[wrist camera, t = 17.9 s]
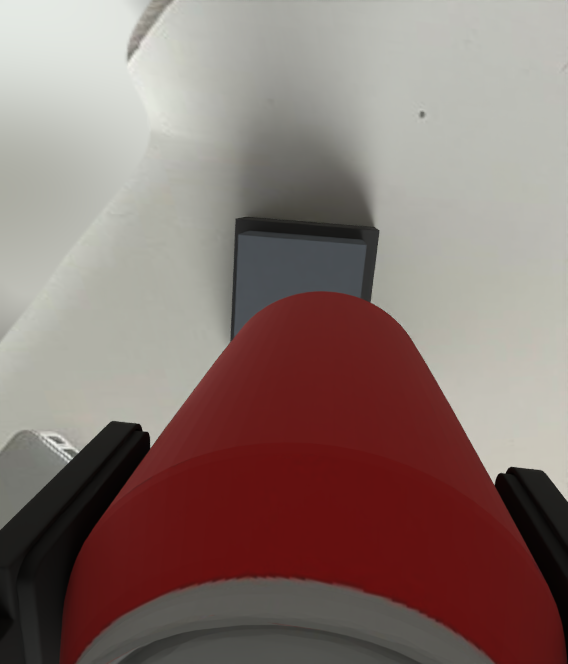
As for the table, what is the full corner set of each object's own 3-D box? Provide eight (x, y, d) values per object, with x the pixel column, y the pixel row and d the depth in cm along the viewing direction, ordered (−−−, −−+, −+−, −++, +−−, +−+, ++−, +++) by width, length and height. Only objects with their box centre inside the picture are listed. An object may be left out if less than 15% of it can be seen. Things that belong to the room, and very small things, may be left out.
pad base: (245, 216, 29) (235, 218, 26) (375, 227, 28) (379, 230, 25) (238, 367, 32) (228, 384, 29) (355, 379, 31) (358, 398, 28)
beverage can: (191, 395, 17) (-120, 816, 5) (301, 243, 15) (189, 386, 3) (339, 499, 17) (348, 1088, 6) (464, 365, 15) (841, 845, 4)
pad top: (248, 230, 26) (238, 234, 23) (363, 239, 26) (366, 244, 23) (241, 379, 29) (230, 399, 26) (345, 390, 28) (346, 411, 25)
